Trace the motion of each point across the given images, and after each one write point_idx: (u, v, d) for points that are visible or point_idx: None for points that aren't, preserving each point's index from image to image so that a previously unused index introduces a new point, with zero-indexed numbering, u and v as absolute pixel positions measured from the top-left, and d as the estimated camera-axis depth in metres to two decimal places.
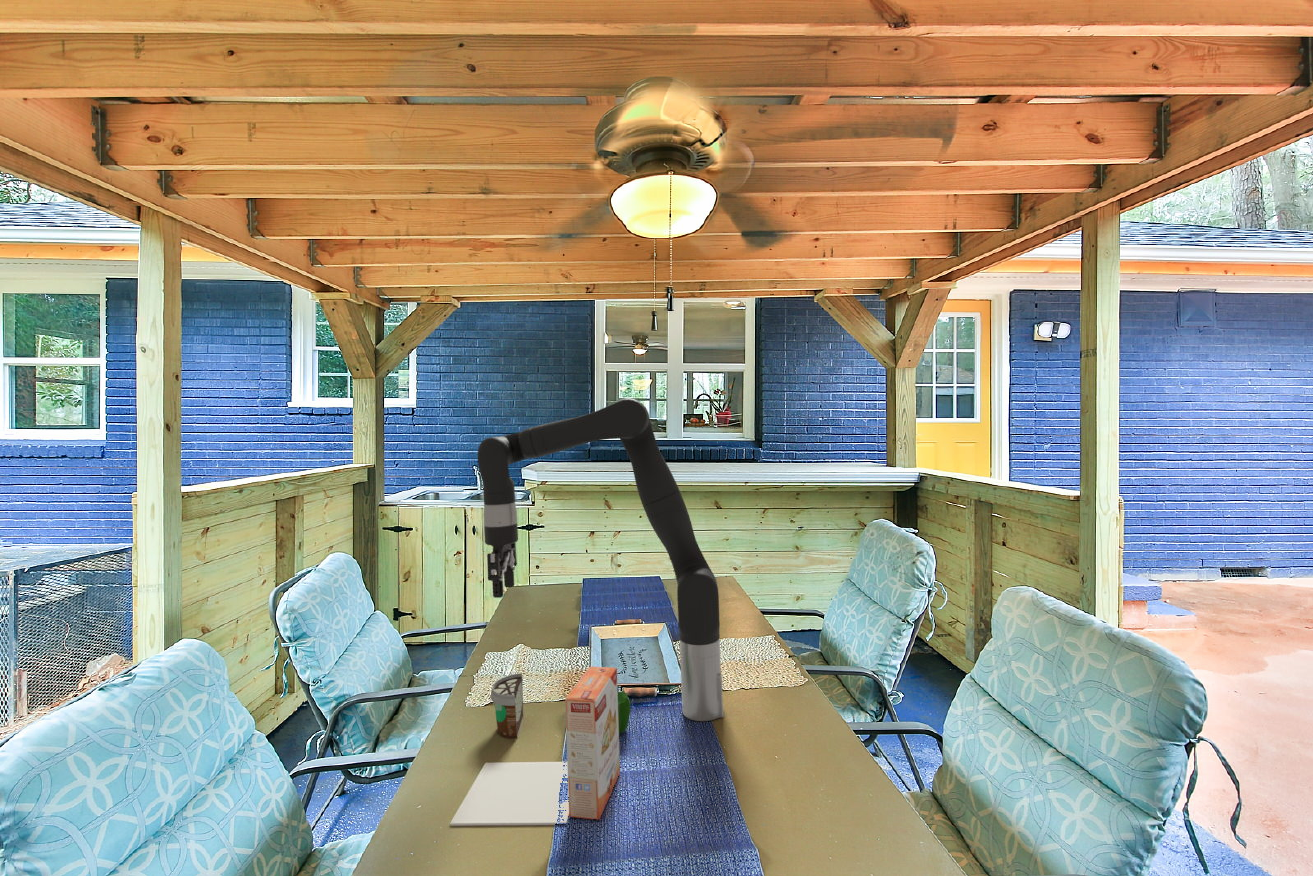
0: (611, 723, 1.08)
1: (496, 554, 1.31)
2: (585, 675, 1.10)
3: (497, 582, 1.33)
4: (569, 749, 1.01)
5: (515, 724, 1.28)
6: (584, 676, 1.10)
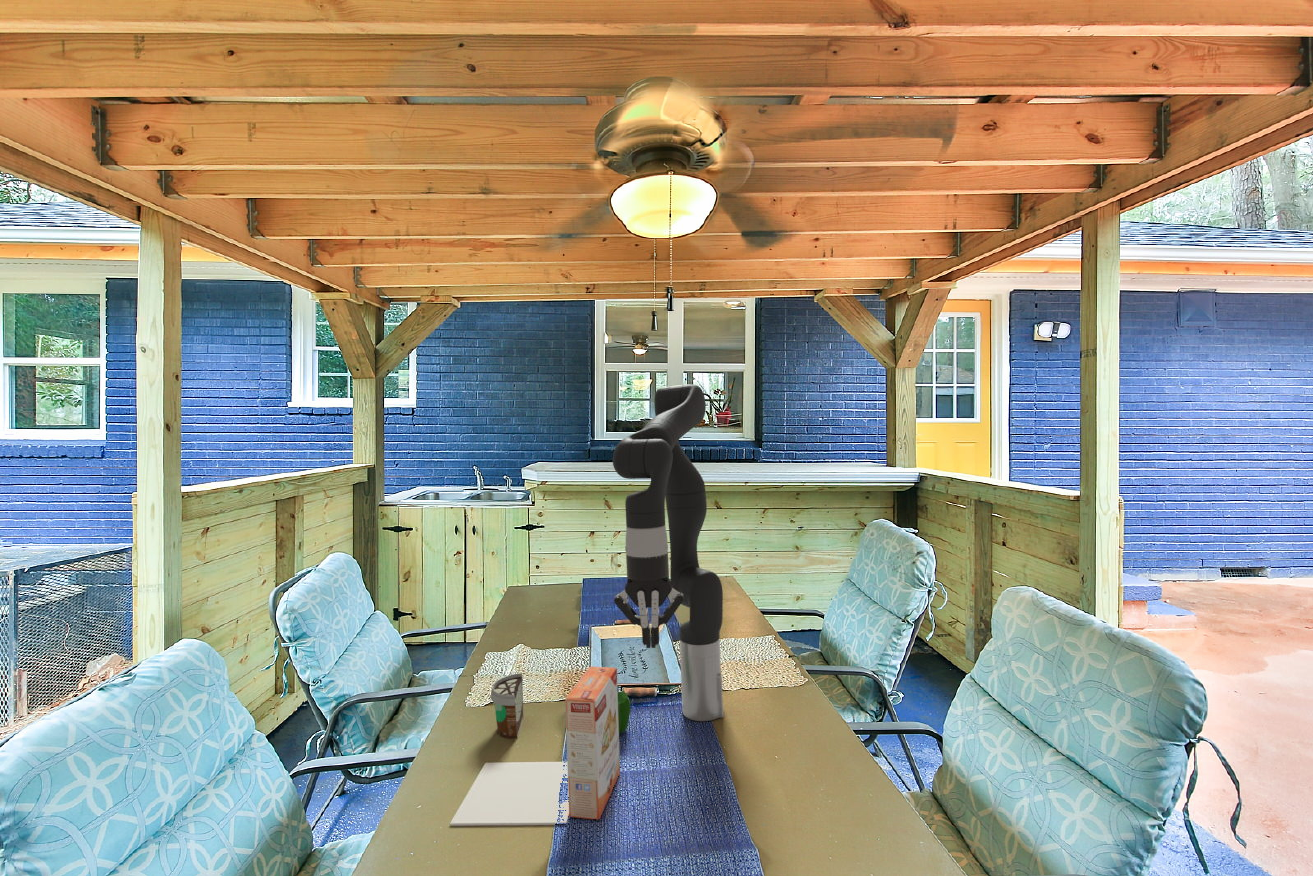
0: (611, 723, 1.08)
1: (683, 595, 1.07)
2: (585, 675, 1.10)
3: None
4: (569, 749, 1.01)
5: (515, 724, 1.28)
6: (584, 676, 1.10)
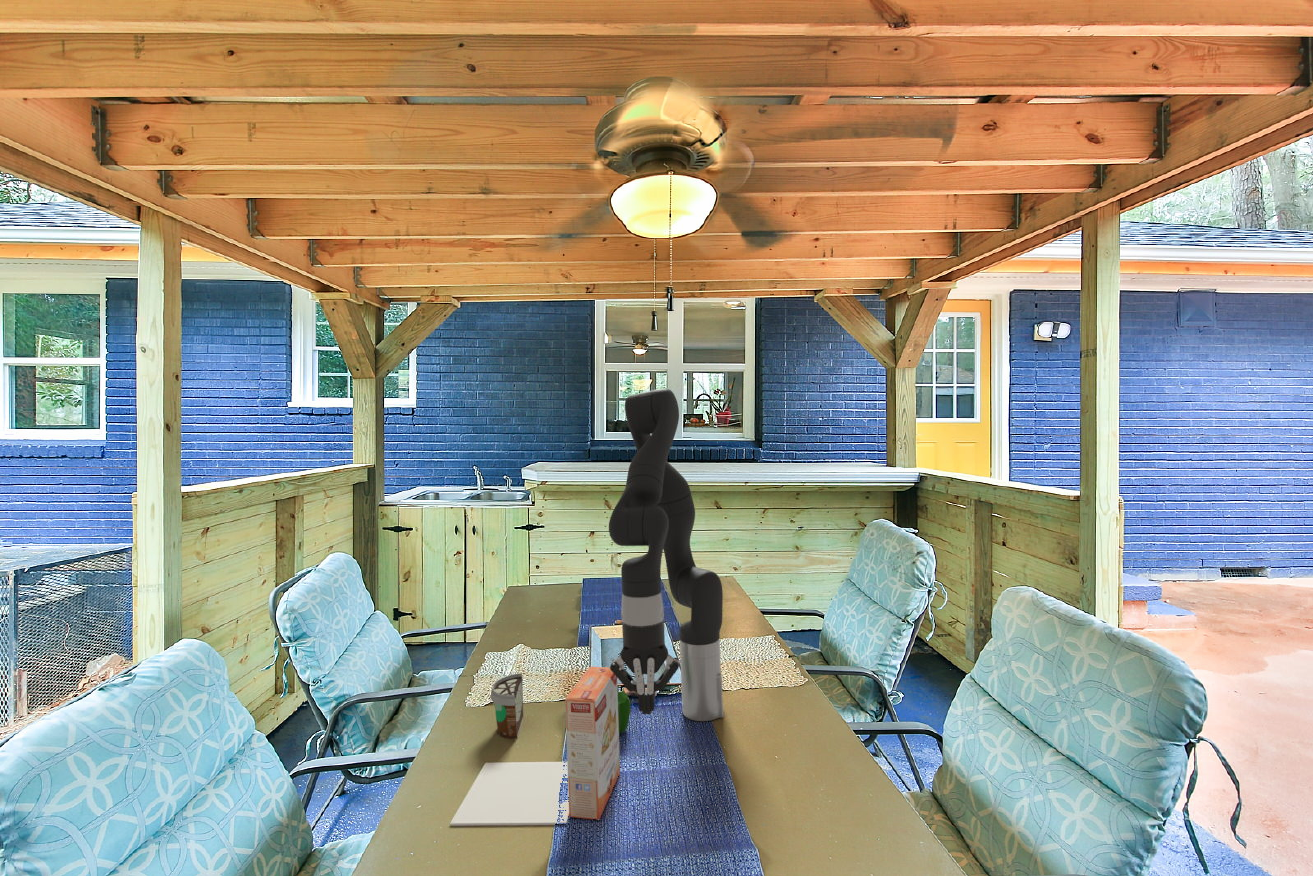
0: (611, 723, 1.08)
1: (678, 661, 1.07)
2: (585, 675, 1.10)
3: None
4: (569, 749, 1.01)
5: (515, 724, 1.28)
6: (584, 676, 1.10)
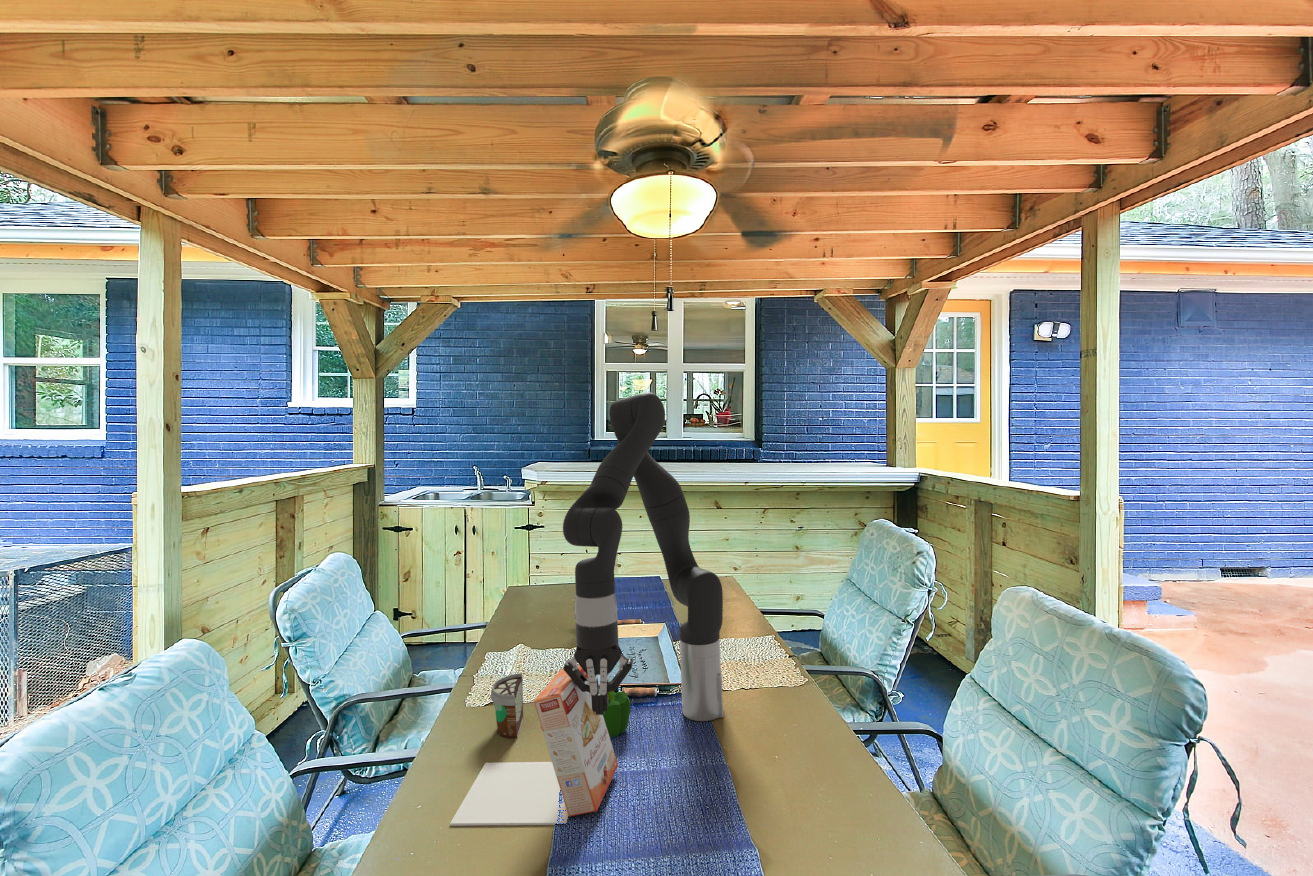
0: (591, 715, 1.09)
1: (632, 662, 1.08)
2: (555, 677, 1.12)
3: None
4: (550, 749, 1.02)
5: (515, 724, 1.28)
6: (554, 678, 1.11)
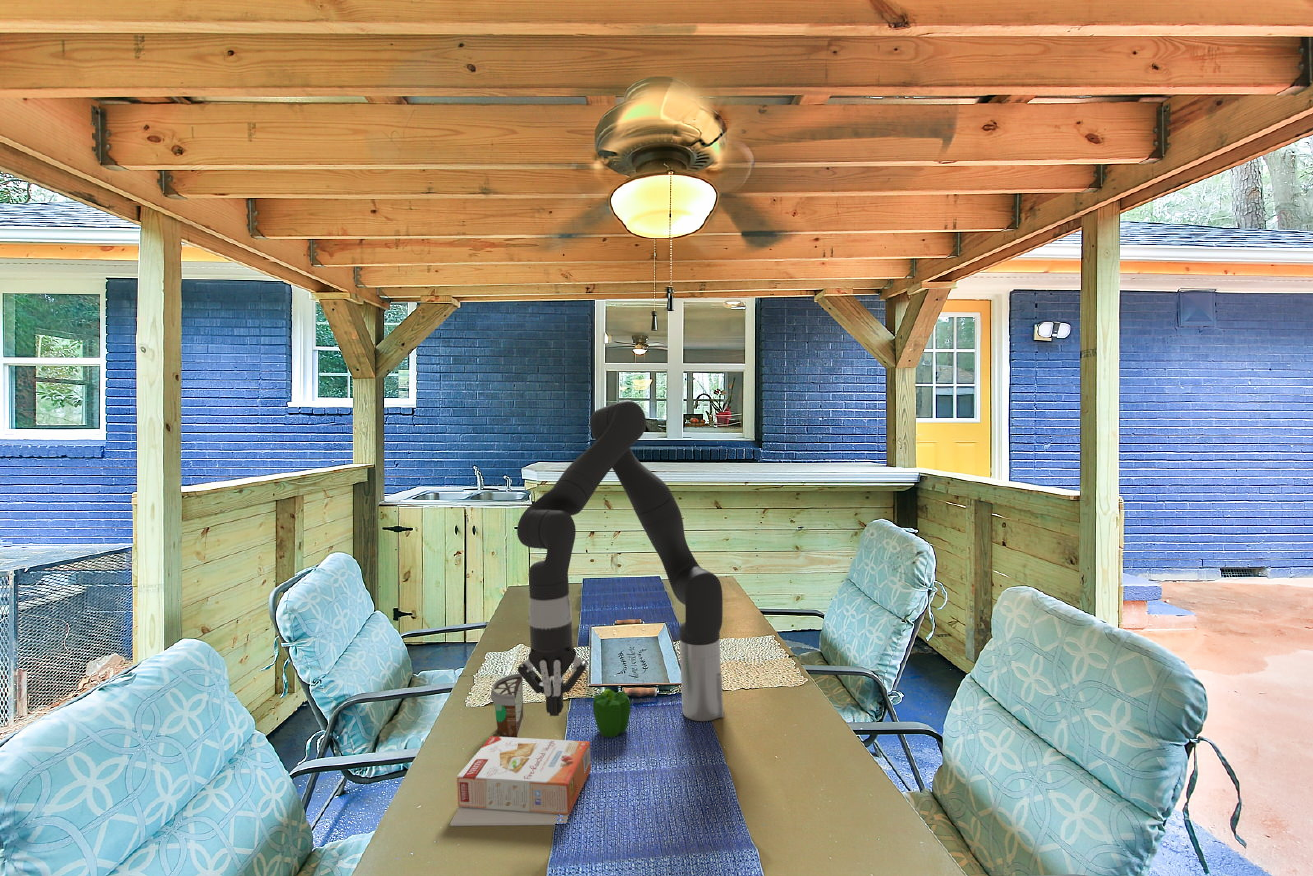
0: (516, 752, 1.11)
1: (587, 663, 1.08)
2: None
3: (562, 693, 1.08)
4: (503, 807, 1.03)
5: (515, 724, 1.28)
6: None
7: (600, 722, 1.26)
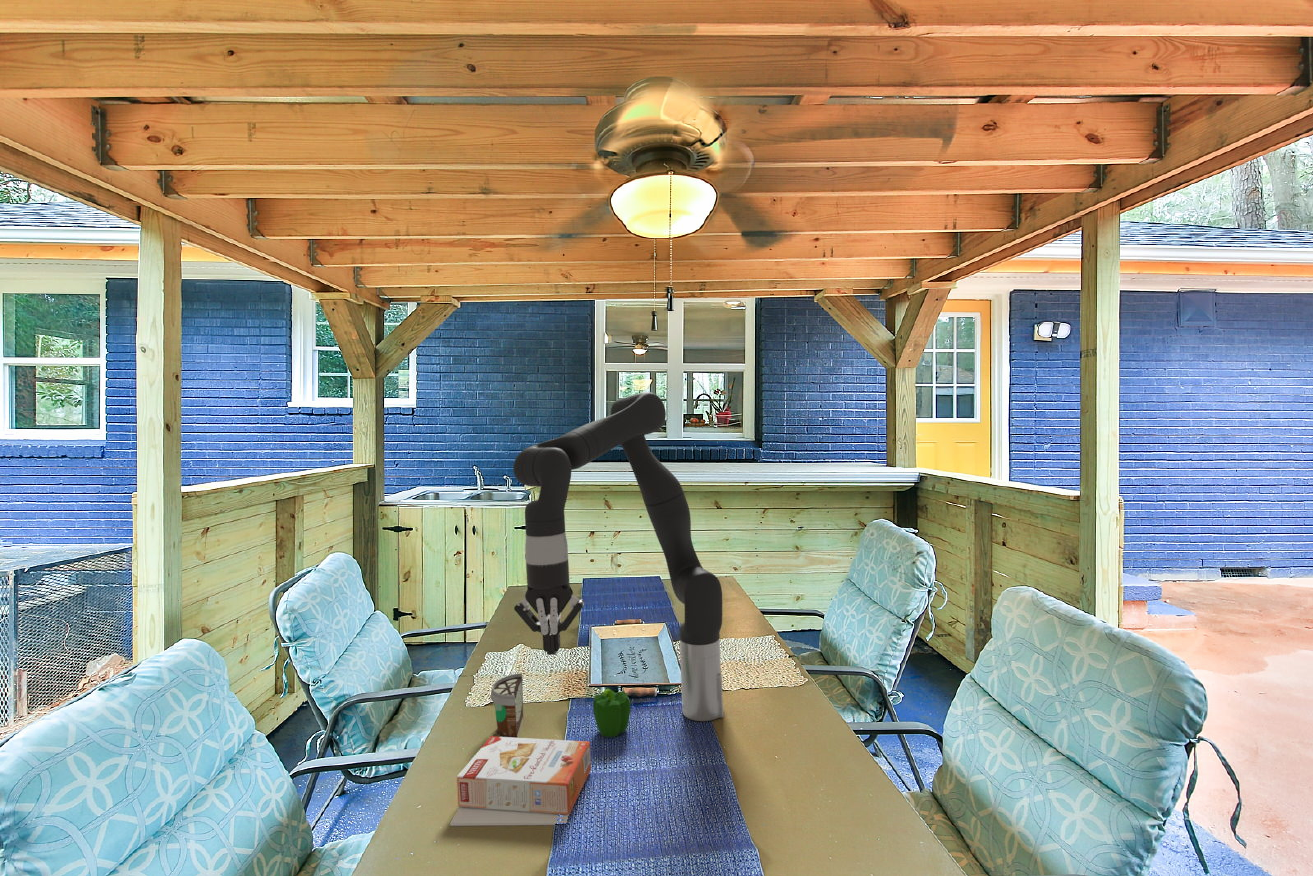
0: (516, 752, 1.11)
1: (584, 602, 1.08)
2: None
3: (559, 632, 1.08)
4: (503, 807, 1.03)
5: (515, 724, 1.28)
6: None
7: (600, 722, 1.26)
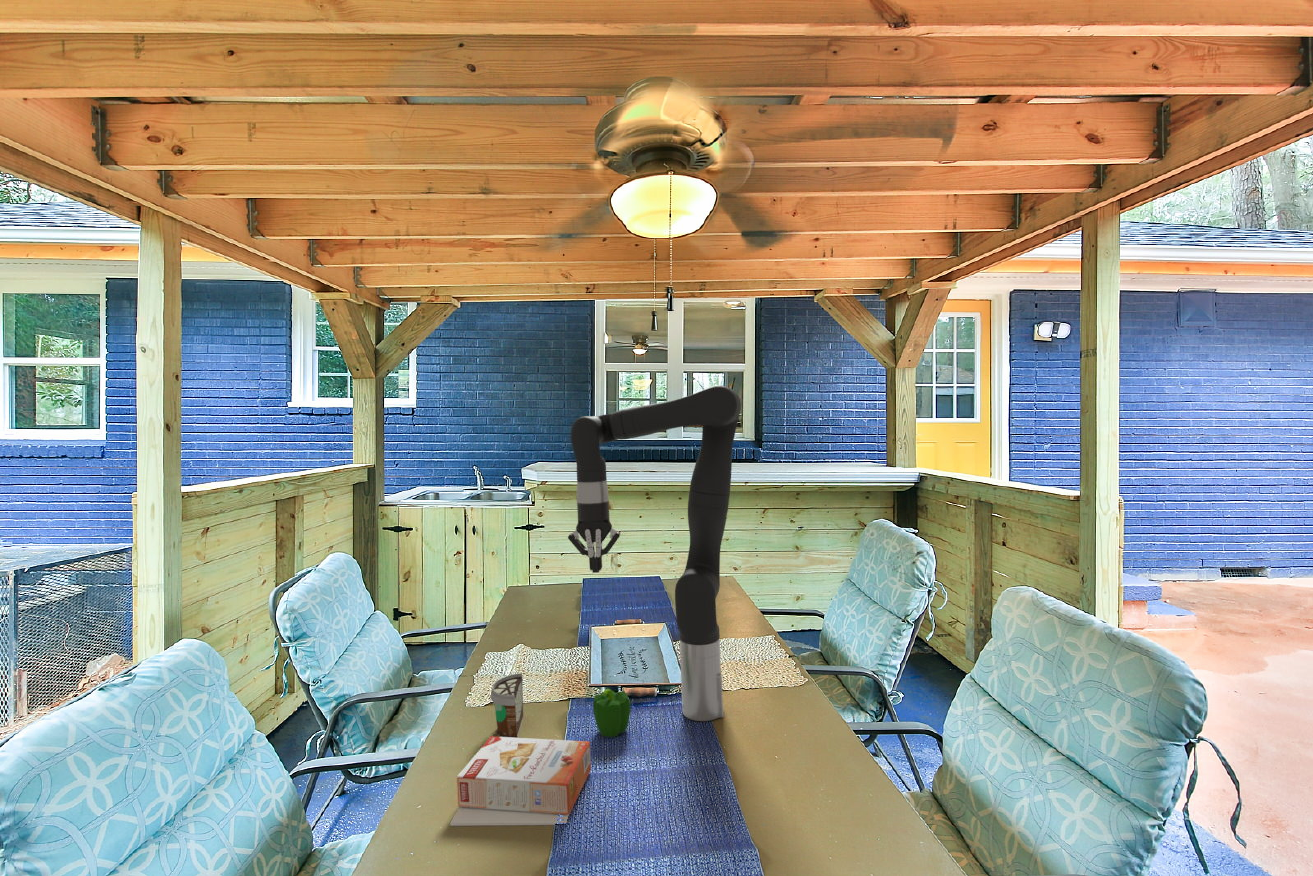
0: (516, 752, 1.11)
1: (620, 533, 1.42)
2: None
3: (601, 556, 1.42)
4: (503, 807, 1.03)
5: (515, 724, 1.28)
6: None
7: (600, 722, 1.26)
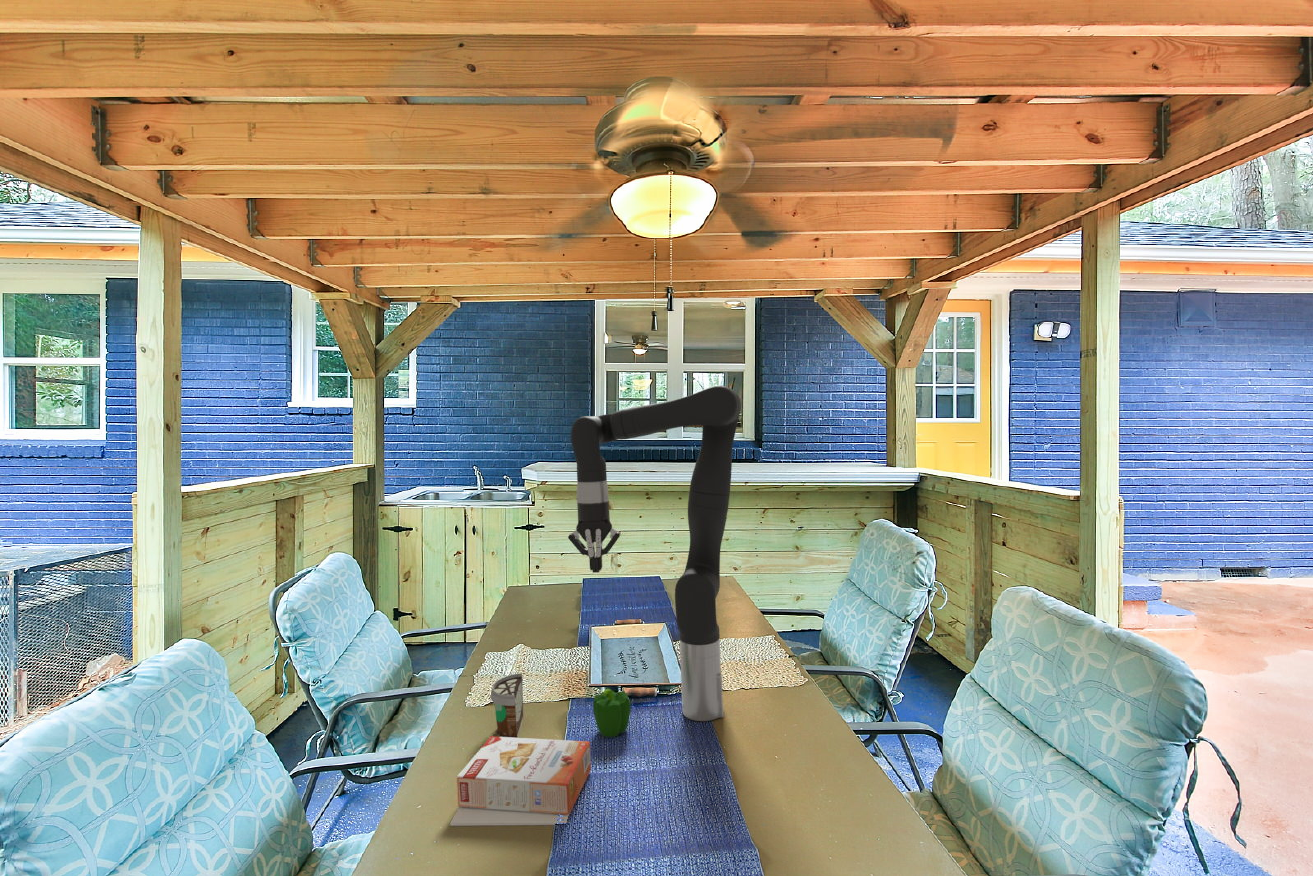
0: (516, 752, 1.11)
1: (620, 533, 1.42)
2: None
3: (601, 556, 1.42)
4: (503, 807, 1.03)
5: (515, 724, 1.28)
6: None
7: (600, 722, 1.26)
